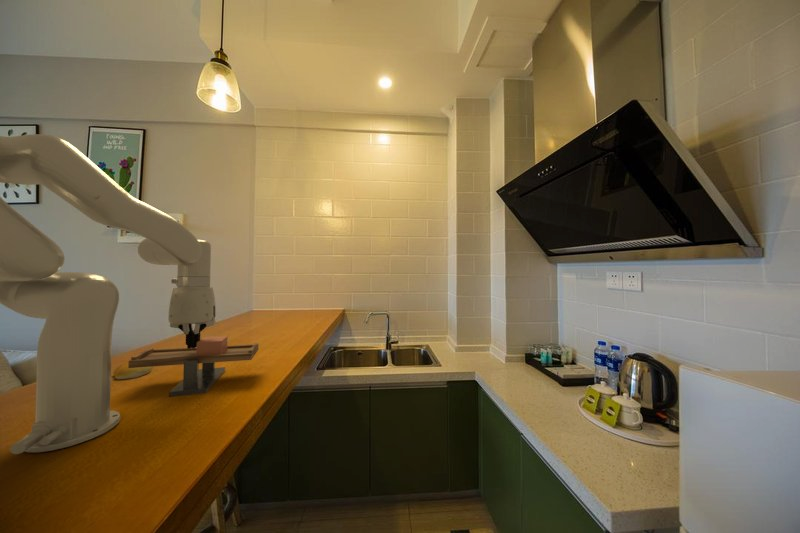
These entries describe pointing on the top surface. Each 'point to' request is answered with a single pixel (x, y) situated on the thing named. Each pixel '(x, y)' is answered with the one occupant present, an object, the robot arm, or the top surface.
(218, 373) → the balance stand
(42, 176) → the robot arm
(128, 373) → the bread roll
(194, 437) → the top surface
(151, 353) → the balance beam
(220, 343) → the weight block
